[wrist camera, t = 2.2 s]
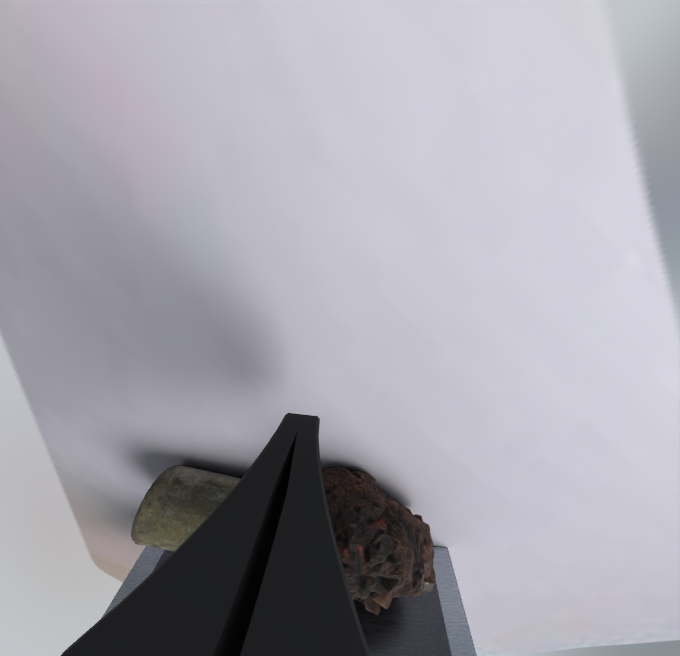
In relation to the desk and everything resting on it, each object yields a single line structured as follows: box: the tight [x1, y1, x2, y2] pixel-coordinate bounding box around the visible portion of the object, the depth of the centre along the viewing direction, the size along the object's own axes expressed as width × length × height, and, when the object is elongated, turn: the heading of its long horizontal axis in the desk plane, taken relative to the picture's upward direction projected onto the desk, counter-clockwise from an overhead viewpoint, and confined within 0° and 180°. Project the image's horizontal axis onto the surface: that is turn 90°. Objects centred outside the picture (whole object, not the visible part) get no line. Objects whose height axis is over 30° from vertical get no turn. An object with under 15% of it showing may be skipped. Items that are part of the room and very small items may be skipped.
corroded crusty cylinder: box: [131, 465, 436, 616], centre depth 15 cm, size 18×7×6 cm, turn 81°
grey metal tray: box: [101, 546, 477, 656], centre depth 18 cm, size 5×24×7 cm, turn 85°
